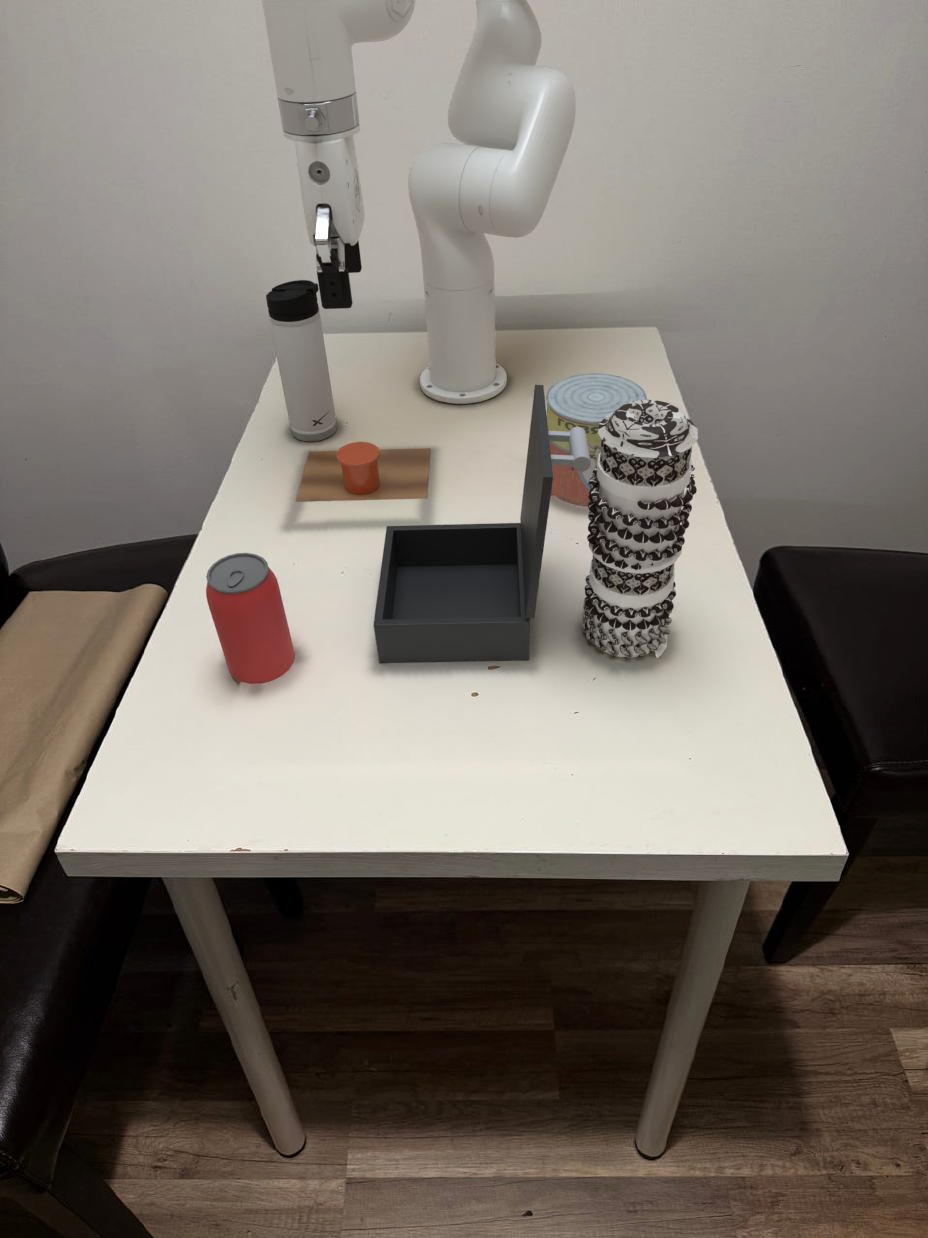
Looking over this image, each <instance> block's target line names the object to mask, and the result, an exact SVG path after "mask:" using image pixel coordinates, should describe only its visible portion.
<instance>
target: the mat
mask: <svg viewBox="0 0 928 1238" xmlns="http://www.w3.org/2000/svg"><path fill="white" fill-rule="evenodd" d="M337 452H338V450H317V451H308V454H307V457H306V461H305V464H304V468H303V472H302V475H301V480H300V483H299V487H298V491H297V495H296V498H295V503H304V502H305V503H309V502H310V503H311V502H339V501H340V502H342V501H343V502H348V501H351V502H352V501H385V500H388V501H389V500H424V499H425V500H426V499H428V491H429V489H428V488H429V480H430V479H429V477H430V467H431V466H430V465H431V453H432V449H431V447H430V448H429V447H424V448H393V449H392V448H389V449H387V448H386V449H379V452H380V456H379V458H378V459H377V463H378V471H379V479H380V486H379V488H378V489H377V490H375V491H374V492H372V493H369V494H365V495H355V494H351V493H349V492H347V491H346V489H345V486H344V480H343V473H342V467H341V464H340V463H339V462H338V461H337V456H336V454H337Z"/></svg>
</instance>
